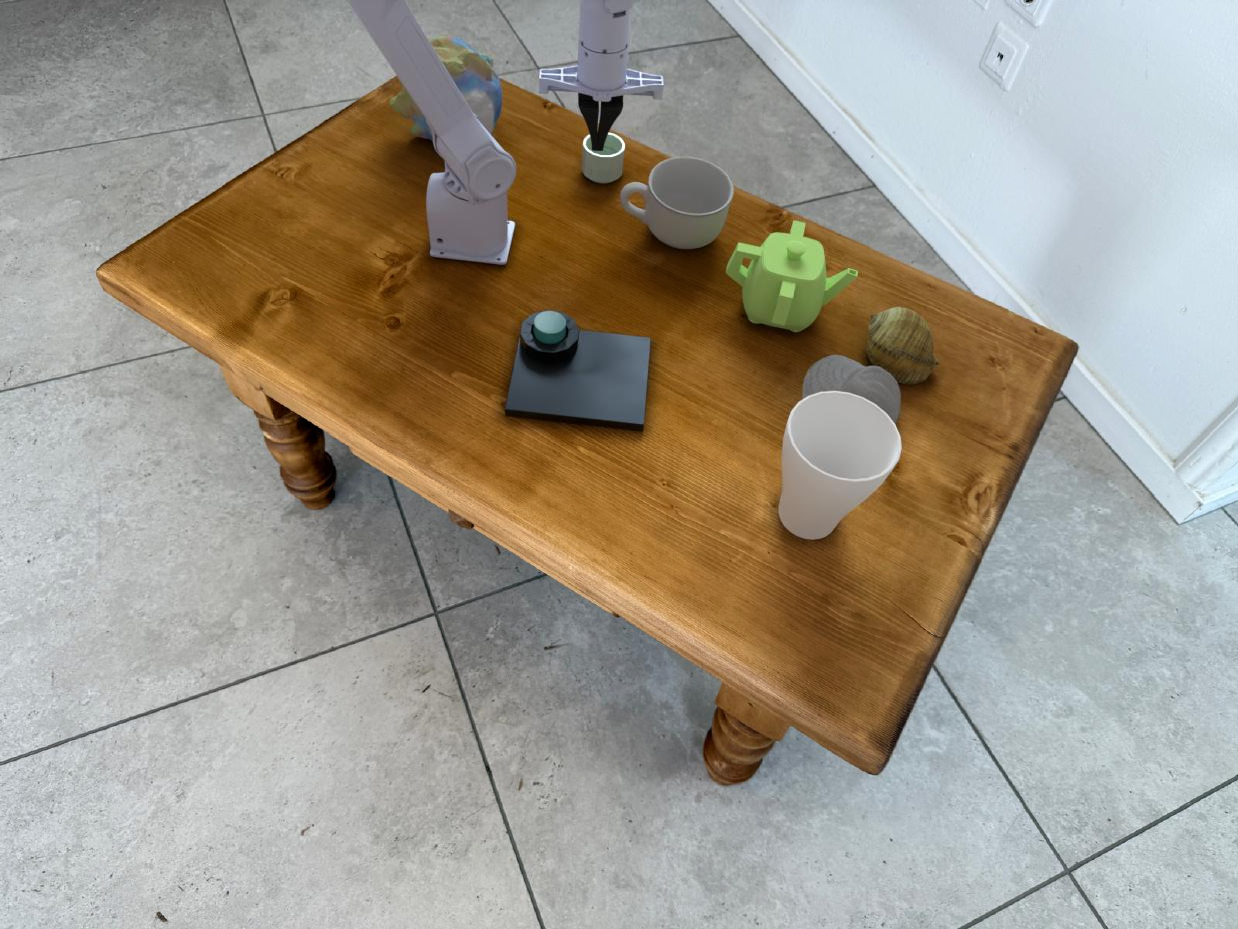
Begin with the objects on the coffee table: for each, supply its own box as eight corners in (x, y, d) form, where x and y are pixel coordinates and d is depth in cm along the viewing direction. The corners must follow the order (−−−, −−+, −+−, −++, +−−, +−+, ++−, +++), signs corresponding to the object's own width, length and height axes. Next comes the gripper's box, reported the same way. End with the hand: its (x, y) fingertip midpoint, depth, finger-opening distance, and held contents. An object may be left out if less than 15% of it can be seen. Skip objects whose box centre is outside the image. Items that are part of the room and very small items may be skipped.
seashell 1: (795, 372, 102) (788, 429, 95) (816, 336, 98) (810, 393, 91) (888, 406, 103) (888, 465, 96) (912, 372, 99) (914, 431, 92)
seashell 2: (914, 391, 108) (953, 334, 105) (921, 400, 101) (963, 339, 99) (845, 350, 108) (882, 293, 106) (847, 356, 102) (887, 295, 99)
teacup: (724, 213, 119) (735, 161, 112) (722, 267, 112) (733, 215, 106) (621, 200, 119) (626, 147, 112) (613, 253, 112) (618, 201, 106)
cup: (831, 465, 95) (870, 382, 84) (875, 547, 89) (922, 469, 78) (741, 483, 92) (769, 400, 82) (779, 569, 87) (815, 492, 76)
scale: (504, 416, 95) (504, 398, 93) (523, 325, 103) (522, 307, 101) (643, 431, 96) (645, 414, 93) (650, 340, 104) (653, 321, 101)
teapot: (769, 355, 104) (789, 293, 96) (711, 295, 109) (726, 231, 101) (843, 322, 108) (868, 260, 100) (785, 265, 113) (804, 202, 105)
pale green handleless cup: (579, 183, 120) (581, 154, 116) (583, 158, 123) (585, 129, 120) (620, 188, 120) (623, 159, 116) (623, 162, 123) (626, 134, 120)
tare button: (531, 342, 98) (531, 331, 97) (535, 320, 100) (536, 308, 99) (563, 346, 98) (564, 335, 97) (567, 323, 101) (568, 312, 99)
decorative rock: (467, 59, 107) (498, 5, 117) (352, 76, 112) (390, 23, 121) (503, 161, 118) (528, 104, 127) (396, 174, 122) (428, 117, 131)
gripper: (538, 55, 96) (538, 162, 107) (670, 62, 98) (656, 168, 109) (539, 22, 101) (539, 128, 112) (666, 29, 102) (653, 134, 113)
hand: (597, 146), depth 110 cm, fingers closed
